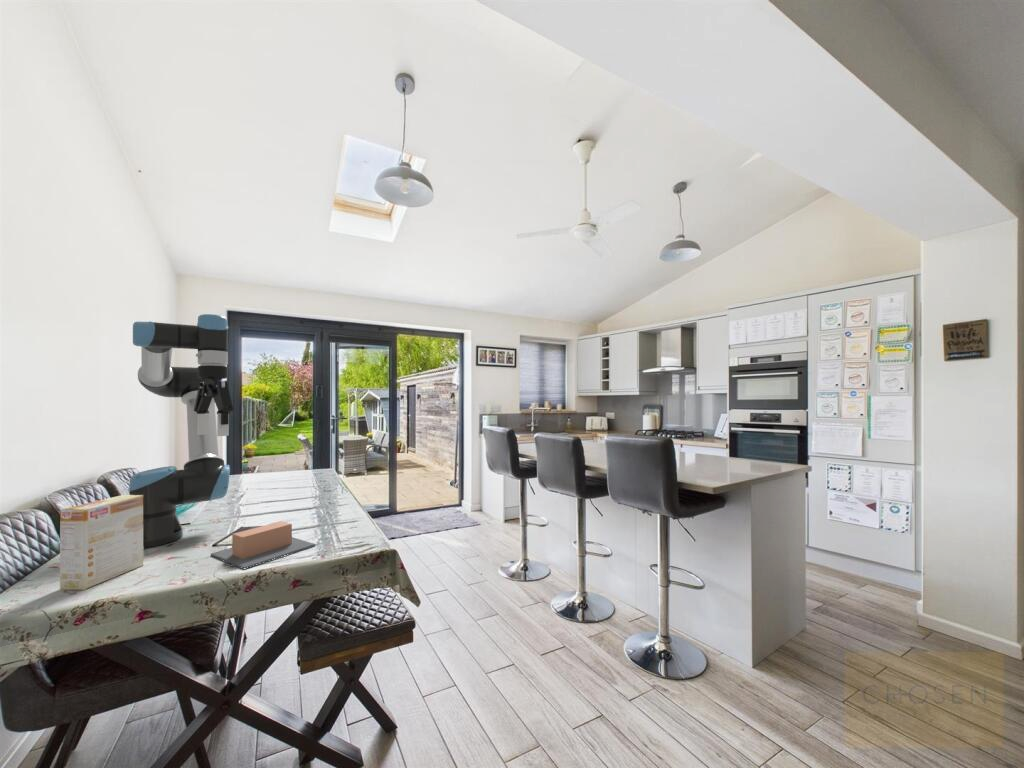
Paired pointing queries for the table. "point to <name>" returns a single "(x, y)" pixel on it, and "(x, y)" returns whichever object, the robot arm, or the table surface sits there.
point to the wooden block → (261, 539)
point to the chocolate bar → (228, 538)
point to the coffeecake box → (100, 541)
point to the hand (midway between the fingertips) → (212, 435)
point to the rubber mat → (262, 554)
